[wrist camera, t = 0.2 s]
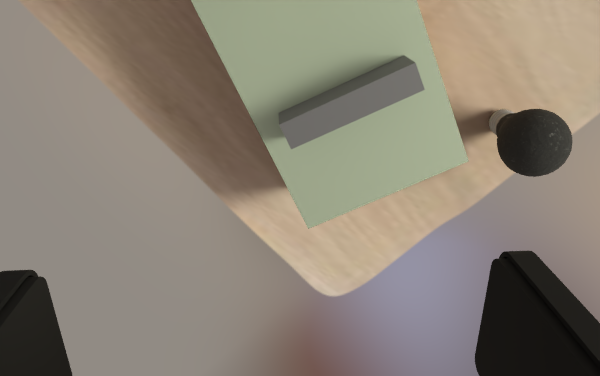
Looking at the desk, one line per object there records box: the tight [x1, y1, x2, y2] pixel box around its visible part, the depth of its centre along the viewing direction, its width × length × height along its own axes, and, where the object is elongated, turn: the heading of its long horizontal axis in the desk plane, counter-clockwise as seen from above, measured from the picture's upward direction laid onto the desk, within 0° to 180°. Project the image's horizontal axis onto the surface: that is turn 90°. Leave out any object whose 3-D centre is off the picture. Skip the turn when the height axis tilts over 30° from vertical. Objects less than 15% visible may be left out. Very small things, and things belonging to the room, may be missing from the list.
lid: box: [191, 0, 468, 229], centre depth 33 cm, size 26×14×4 cm, turn 24°
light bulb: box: [489, 109, 572, 177], centre depth 42 cm, size 6×6×10 cm
